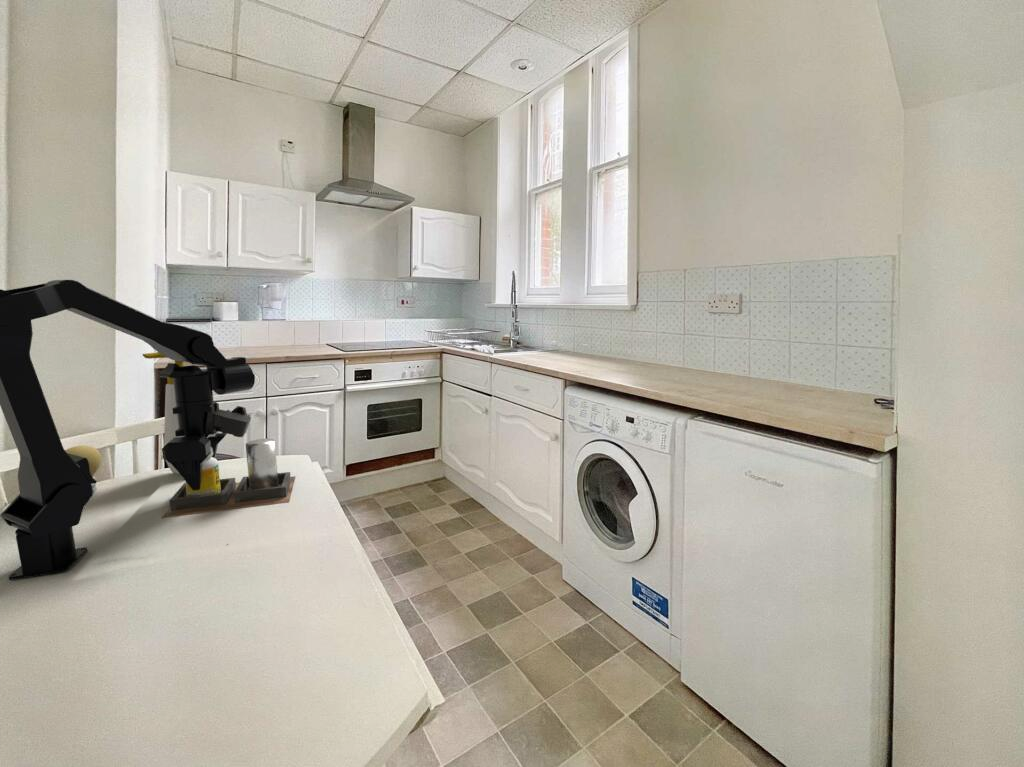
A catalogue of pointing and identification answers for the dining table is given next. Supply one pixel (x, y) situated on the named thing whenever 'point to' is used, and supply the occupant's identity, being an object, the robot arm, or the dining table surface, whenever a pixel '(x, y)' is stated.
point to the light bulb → (88, 458)
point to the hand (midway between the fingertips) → (203, 480)
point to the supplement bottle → (207, 478)
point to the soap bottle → (168, 408)
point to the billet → (262, 463)
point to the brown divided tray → (231, 497)
